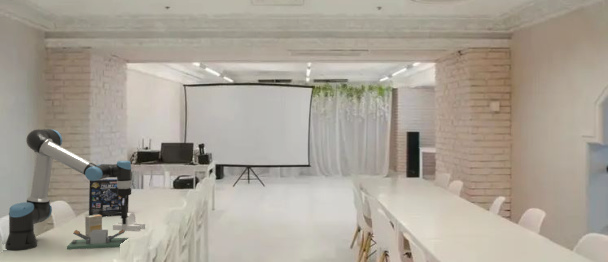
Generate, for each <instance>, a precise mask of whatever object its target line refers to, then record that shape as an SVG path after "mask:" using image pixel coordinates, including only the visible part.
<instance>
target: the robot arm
mask: <svg viewBox="0 0 608 262" xmlns="http://www.w3.org/2000/svg"><path fill="white" fill-rule="evenodd" d="M62 144H63V137H62V134H61V133H60V132H59V131H57V130H55V129H51V128H46V129H45V128H42V129H40V128H38V129H34V130H31V131H30V132H29V133H28V134H27V137H26V145H27V146H28V148H29V149H31V150H32V151H33V153H35V165H34V171H33V177H32V183H31V190H30V195H29V197H27V198H26V201H25V202H20V203H15V204H12V205H11V206H10V207H9V212H8V215H9V216H8V223H9V226H8V229H9V230H8V231H9V232H8V233H9V234H8V236H7V239H6V242H5V249H6V250H8V251H22V250H28V249H33V248H36V247H37V246H38V240H37V236H36V235H35V231H34V226H35V225H36V224H39V223H42V222H44V221H46V220H48V219H49V218H50V217H51V215H52V212H53V207H52V205H51V203H50V201H51V200H50V198H49V197H48V195H49V194H48V193H49V187H50V181H51V176H52V175H51V174H52V168H53V167H52V166H53V160H56V162H57V161H58V162H59V163H61V164H63V165H65V166H67V167H69V168H70V169H73V170H74V171H76V172H78V173H79V174H81V175H84V176H85V178H86V179H87V180H89V181H90V180H91V181H96V180H99V179H117V188H118V189H117V195H119V196H122V198H121V199H120V202H121V216H120V219H121V222H122V230H127V217H128V216H127V215H128V214H127V210H128V211H129V201H128V198H127V195H129V196H131V195H132V184H133V181H132V162H131V161H130V160H118V161H117V162H116V164H112V163H111V164H110V163H108V164H107V163H101V164H100V163H99V164H95V163H93V162H91V161H90V160H87V159H86V158H85V157H83V156H80V155H78V154H76V153H75V152H73V151H71V150H69V149H67V148H65V147H63V146H62Z"/></svg>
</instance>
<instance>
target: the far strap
mask: <svg viewBox="0 0 608 262" xmlns="http://www.w3.org/2000/svg"><path fill="white" fill-rule="evenodd" d="M118 231H119V232H118V233H115V234H114V235H108V236H109V237H108V239H112V238H118V236H121V235H123V234H124V233H125V232H126V231H125V230H121V231H120V230H118ZM110 236H111V237H110Z"/></svg>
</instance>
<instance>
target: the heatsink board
mask: <svg viewBox="0 0 608 262" xmlns="http://www.w3.org/2000/svg"><path fill="white" fill-rule="evenodd" d="M108 234H109V229H102V230H93V231H92V232H91V233H90V239H87V240H85V239H83V238H79V239H73V240H71V242H69V244H68V245H67V246H66V250H79V249H80V250H81V249H86V248H87V249H103V248H104V249H105V248H107V249H109V248H120V247H119V246H120V244H121V243H123V242H124V241H125V240H127V239H128V238H129V237H115V238H112V239H108V237H109V236H110V237H111V236H112V235H108Z"/></svg>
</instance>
